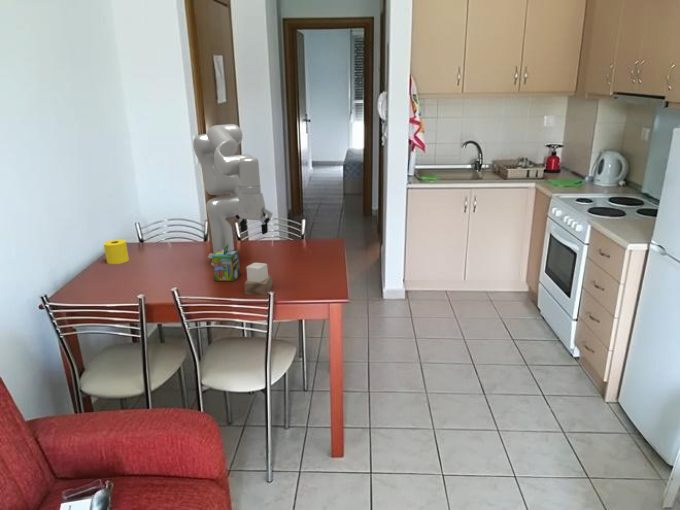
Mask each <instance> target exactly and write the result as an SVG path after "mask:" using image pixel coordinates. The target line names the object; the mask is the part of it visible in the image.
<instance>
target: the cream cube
mask: <svg viewBox="0 0 680 510" xmlns="http://www.w3.org/2000/svg"><path fill="white" fill-rule="evenodd" d="M268 276H269V271H268V264H267V263H262V262H253V263H251V264H249V265H247V266H246V278H247V279H248V281H251V282H258V283H261V282H262V281H264V280H265V279H267V278H268ZM247 279H246V280H247Z"/></svg>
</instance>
